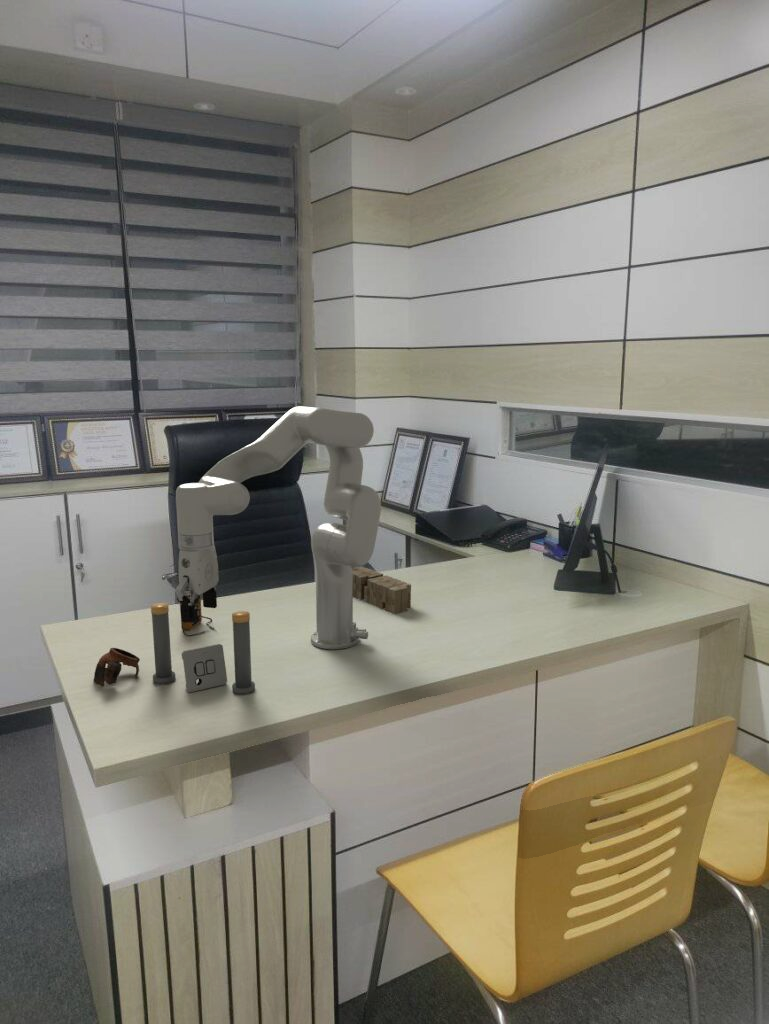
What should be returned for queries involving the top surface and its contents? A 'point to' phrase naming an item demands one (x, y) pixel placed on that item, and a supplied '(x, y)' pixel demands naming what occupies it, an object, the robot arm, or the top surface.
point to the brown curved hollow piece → (114, 666)
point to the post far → (162, 644)
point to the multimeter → (197, 613)
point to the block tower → (381, 590)
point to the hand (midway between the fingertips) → (199, 614)
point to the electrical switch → (204, 667)
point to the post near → (242, 654)
